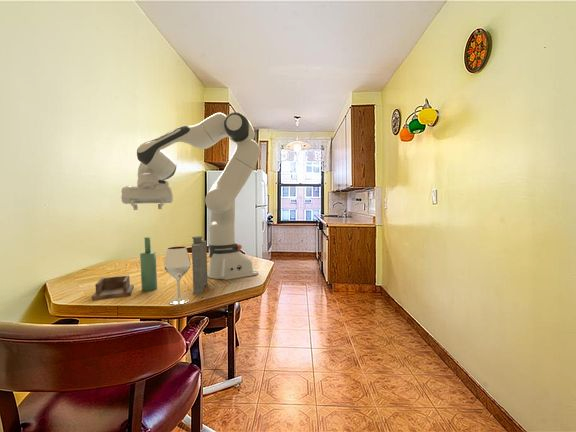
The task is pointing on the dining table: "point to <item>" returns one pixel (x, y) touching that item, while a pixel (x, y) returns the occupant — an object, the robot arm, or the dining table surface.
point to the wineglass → (177, 268)
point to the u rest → (113, 287)
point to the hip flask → (199, 264)
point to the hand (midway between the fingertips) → (147, 208)
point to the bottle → (148, 268)
